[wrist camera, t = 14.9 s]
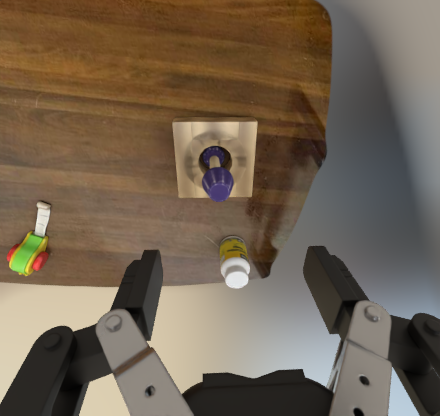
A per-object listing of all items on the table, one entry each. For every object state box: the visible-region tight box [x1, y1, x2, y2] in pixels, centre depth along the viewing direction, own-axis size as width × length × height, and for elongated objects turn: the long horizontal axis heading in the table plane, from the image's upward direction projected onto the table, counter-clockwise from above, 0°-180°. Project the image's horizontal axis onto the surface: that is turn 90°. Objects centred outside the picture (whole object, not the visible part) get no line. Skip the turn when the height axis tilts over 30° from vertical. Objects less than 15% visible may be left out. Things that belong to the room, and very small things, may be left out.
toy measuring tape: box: [7, 201, 51, 276], centre depth 52 cm, size 6×20×7 cm, turn 152°
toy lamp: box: [202, 146, 234, 202], centre depth 40 cm, size 5×5×17 cm
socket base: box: [172, 117, 257, 198], centre depth 46 cm, size 14×14×4 cm
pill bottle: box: [219, 236, 250, 288], centre depth 54 cm, size 6×6×11 cm
